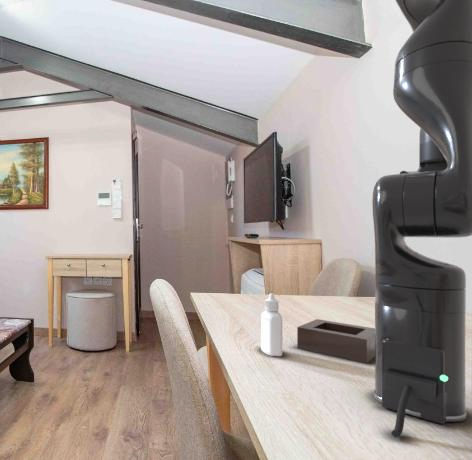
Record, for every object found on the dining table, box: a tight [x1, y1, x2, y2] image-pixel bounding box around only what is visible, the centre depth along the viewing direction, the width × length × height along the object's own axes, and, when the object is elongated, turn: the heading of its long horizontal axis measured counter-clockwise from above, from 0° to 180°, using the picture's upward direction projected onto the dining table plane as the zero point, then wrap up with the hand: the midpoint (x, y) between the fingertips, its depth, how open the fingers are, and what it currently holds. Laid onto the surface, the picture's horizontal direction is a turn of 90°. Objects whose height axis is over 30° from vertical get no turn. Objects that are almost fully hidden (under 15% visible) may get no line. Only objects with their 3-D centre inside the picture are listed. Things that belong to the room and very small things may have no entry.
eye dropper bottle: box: [260, 293, 283, 357], centre depth 78 cm, size 4×6×12 cm
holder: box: [296, 318, 375, 364], centre depth 79 cm, size 12×12×4 cm
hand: (443, 216), depth 81 cm, fingers open, 8 cm apart
